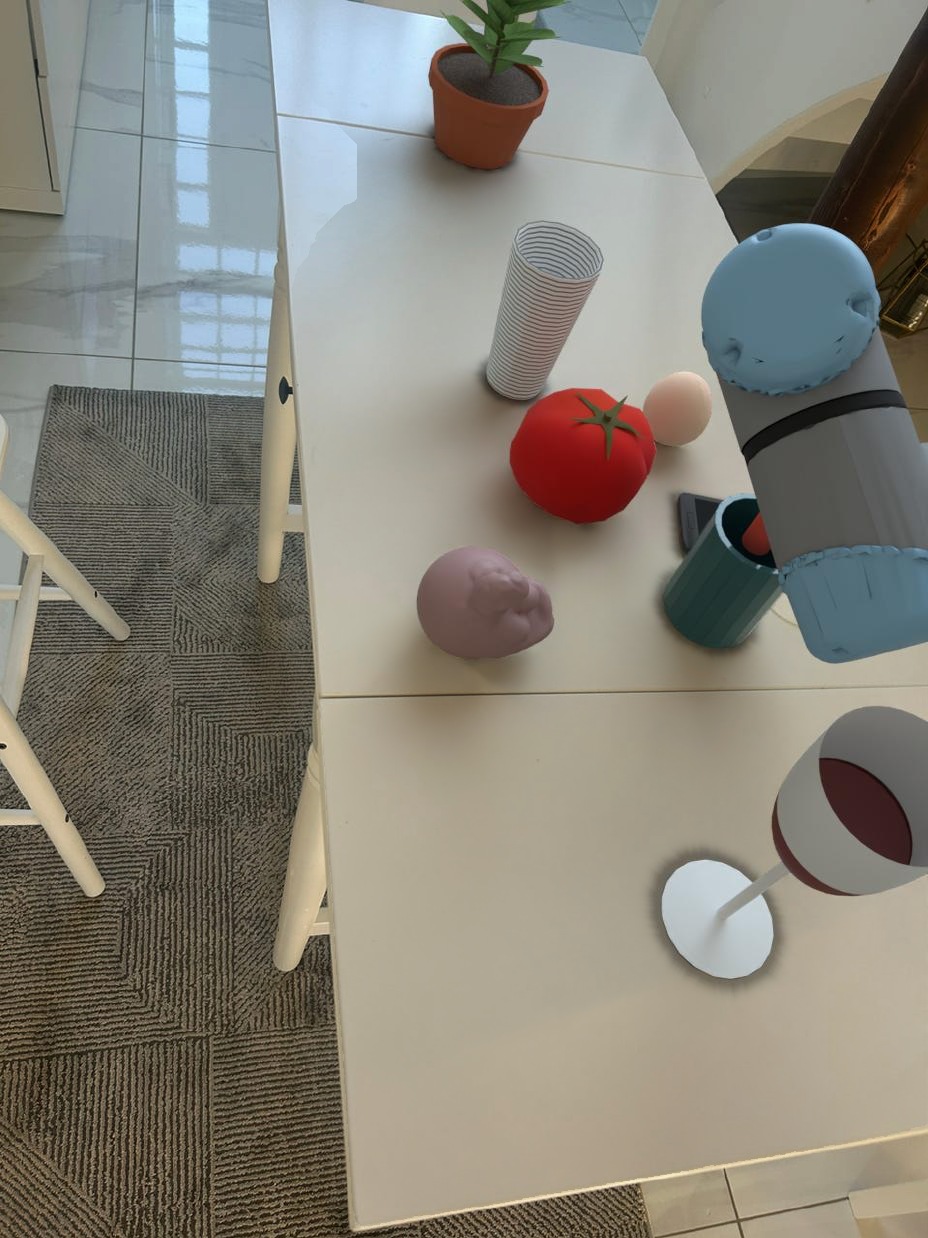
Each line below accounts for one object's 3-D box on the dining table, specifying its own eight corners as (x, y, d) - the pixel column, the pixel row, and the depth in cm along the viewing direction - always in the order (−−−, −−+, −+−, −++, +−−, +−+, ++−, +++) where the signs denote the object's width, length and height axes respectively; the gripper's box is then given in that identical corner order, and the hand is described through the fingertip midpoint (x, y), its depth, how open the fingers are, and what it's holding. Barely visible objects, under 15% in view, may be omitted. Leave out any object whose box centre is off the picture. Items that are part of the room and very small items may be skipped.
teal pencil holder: (768, 635, 88) (832, 560, 79) (695, 660, 84) (753, 584, 75) (717, 563, 91) (773, 484, 82) (645, 584, 88) (696, 504, 79)
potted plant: (390, 132, 121) (438, -157, 97) (467, 102, 129) (528, -172, 105) (480, 195, 117) (552, -89, 93) (553, 159, 126) (637, -110, 102)
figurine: (541, 690, 79) (588, 605, 69) (405, 673, 77) (434, 582, 67) (537, 602, 84) (581, 511, 74) (410, 583, 82) (438, 487, 72)
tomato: (545, 560, 87) (583, 479, 78) (475, 462, 92) (504, 376, 83) (657, 520, 93) (704, 442, 84) (586, 431, 98) (623, 348, 89)
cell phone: (675, 495, 95) (678, 490, 94) (807, 522, 97) (811, 517, 96) (681, 553, 91) (684, 548, 90) (819, 580, 93) (823, 575, 92)
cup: (565, 376, 102) (617, 247, 89) (535, 422, 97) (586, 292, 84) (493, 340, 102) (534, 207, 90) (459, 384, 97) (498, 250, 85)
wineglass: (629, 906, 70) (784, 764, 51) (715, 831, 75) (885, 677, 57) (720, 1014, 67) (919, 904, 49) (803, 927, 72) (1012, 799, 54)
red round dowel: (774, 551, 80) (876, 419, 68) (752, 558, 79) (852, 425, 67) (758, 529, 81) (856, 395, 69) (736, 535, 80) (831, 401, 68)
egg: (675, 411, 103) (707, 352, 96) (704, 457, 99) (738, 400, 93) (621, 416, 100) (650, 356, 94) (648, 464, 97) (680, 405, 91)
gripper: (659, 364, 59) (710, 456, 81) (853, 535, 55) (851, 584, 76) (750, 268, 58) (776, 388, 80) (957, 435, 53) (925, 514, 75)
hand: (813, 484), depth 78 cm, fingers closed on red round dowel, 2 cm apart
